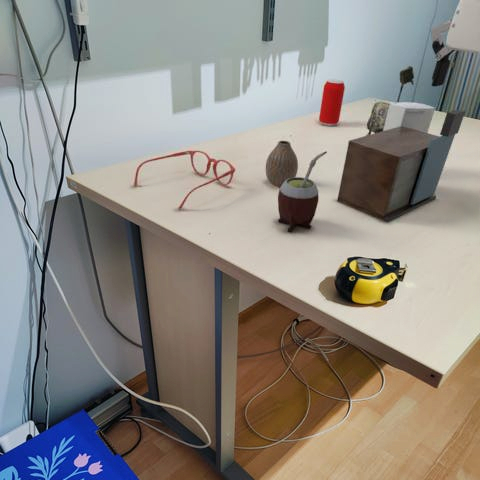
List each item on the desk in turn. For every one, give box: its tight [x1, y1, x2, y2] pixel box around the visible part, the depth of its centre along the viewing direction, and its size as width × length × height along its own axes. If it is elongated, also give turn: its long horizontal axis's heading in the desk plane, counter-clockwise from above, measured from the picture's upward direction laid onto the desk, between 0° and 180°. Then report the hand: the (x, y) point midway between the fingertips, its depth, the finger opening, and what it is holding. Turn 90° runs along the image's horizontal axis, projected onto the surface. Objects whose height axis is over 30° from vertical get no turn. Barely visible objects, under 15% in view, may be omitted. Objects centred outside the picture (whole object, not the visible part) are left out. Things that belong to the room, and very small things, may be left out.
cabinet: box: [336, 126, 441, 224], centre depth 84 cm, size 12×18×12 cm
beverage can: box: [318, 78, 346, 127], centre depth 128 cm, size 6×6×12 cm
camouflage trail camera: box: [365, 65, 415, 136], centre depth 105 cm, size 8×11×20 cm
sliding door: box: [410, 109, 466, 205], centre depth 81 cm, size 2×9×16 cm, turn 131°
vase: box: [265, 140, 299, 188], centre depth 90 cm, size 7×7×9 cm
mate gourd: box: [277, 150, 328, 233], centre depth 73 cm, size 8×8×15 cm
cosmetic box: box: [383, 101, 436, 133], centre depth 97 cm, size 8×6×15 cm
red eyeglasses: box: [133, 150, 236, 210], centre depth 87 cm, size 17×16×5 cm
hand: (462, 90), depth 75 cm, fingers open, 9 cm apart
